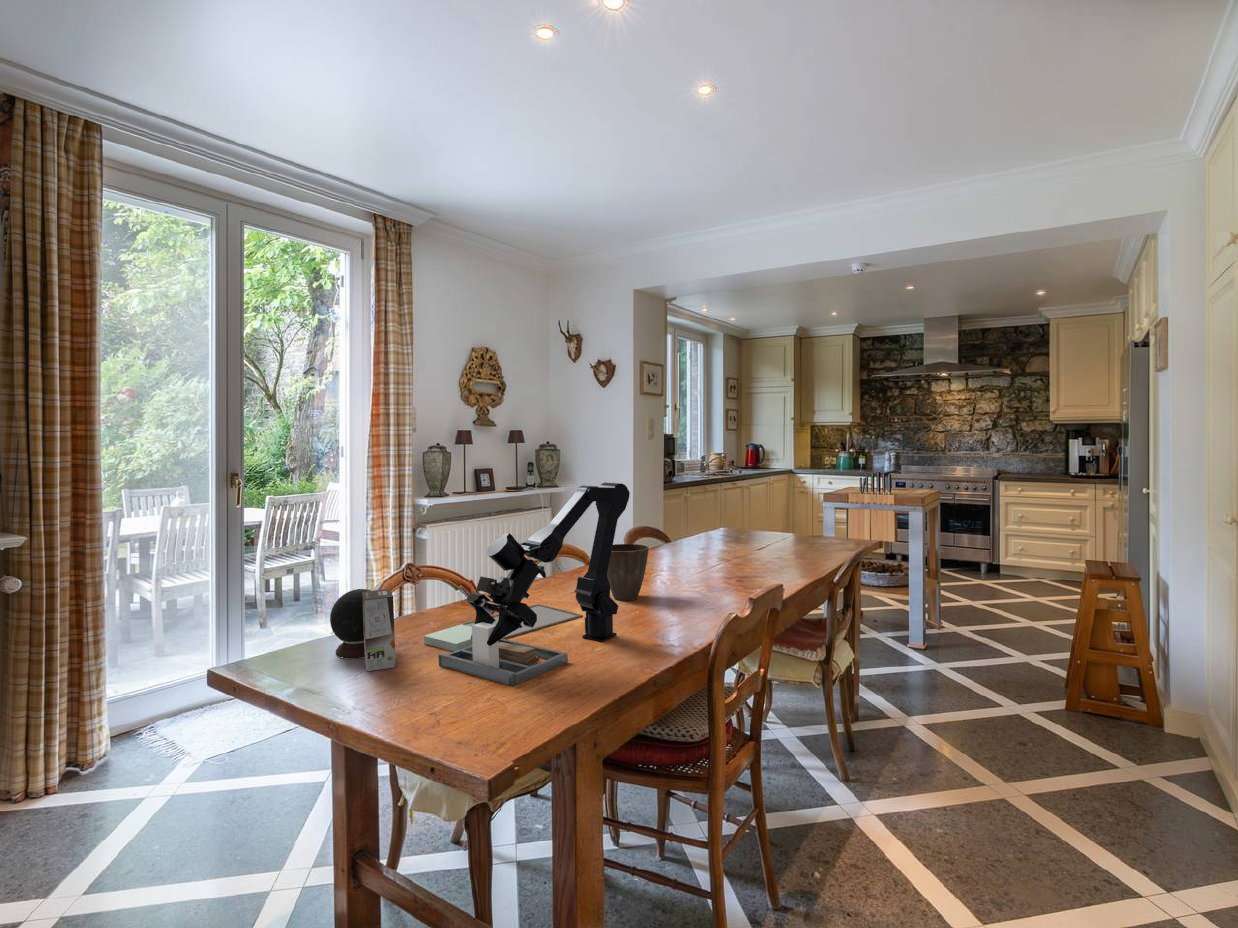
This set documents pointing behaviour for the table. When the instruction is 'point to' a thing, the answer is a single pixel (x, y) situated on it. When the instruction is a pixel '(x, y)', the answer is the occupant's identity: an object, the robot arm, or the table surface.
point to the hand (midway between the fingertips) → (480, 642)
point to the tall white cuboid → (484, 645)
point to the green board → (450, 638)
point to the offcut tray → (503, 664)
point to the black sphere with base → (349, 624)
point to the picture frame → (538, 619)
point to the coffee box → (379, 629)
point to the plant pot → (627, 570)
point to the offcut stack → (517, 654)
